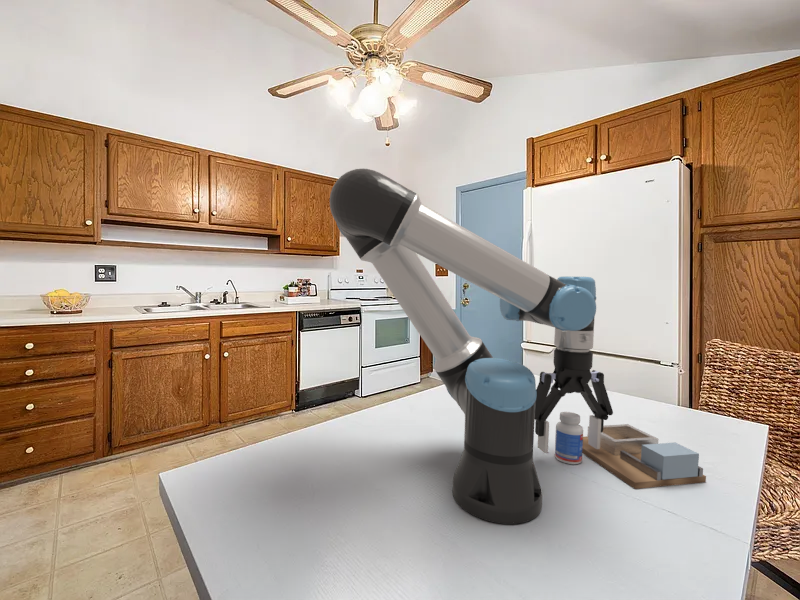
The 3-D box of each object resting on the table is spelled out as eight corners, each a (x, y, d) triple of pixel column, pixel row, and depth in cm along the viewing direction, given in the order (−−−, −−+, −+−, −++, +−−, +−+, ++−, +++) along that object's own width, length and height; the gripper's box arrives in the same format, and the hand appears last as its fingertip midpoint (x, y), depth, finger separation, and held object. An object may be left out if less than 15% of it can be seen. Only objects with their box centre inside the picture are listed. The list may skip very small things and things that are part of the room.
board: (634, 488, 69) (635, 482, 69) (566, 442, 88) (567, 437, 88) (705, 482, 72) (706, 476, 72) (624, 438, 91) (624, 434, 91)
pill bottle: (585, 466, 77) (587, 420, 76) (557, 463, 78) (559, 418, 77) (577, 454, 82) (580, 411, 82) (552, 451, 83) (554, 409, 83)
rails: (657, 480, 69) (657, 472, 69) (620, 458, 78) (620, 450, 78) (702, 476, 71) (703, 468, 71) (661, 454, 80) (662, 447, 80)
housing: (662, 479, 70) (663, 456, 69) (640, 466, 75) (641, 444, 74) (697, 476, 71) (699, 453, 71) (673, 463, 76) (675, 442, 76)
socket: (614, 455, 79) (615, 441, 79) (587, 438, 88) (587, 426, 88) (657, 452, 82) (658, 438, 81) (627, 436, 90) (627, 424, 90)
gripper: (531, 353, 73) (527, 460, 74) (635, 351, 77) (630, 452, 78) (512, 346, 80) (509, 444, 81) (609, 345, 85) (604, 437, 86)
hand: (568, 448), depth 80 cm, fingers open, 12 cm apart
